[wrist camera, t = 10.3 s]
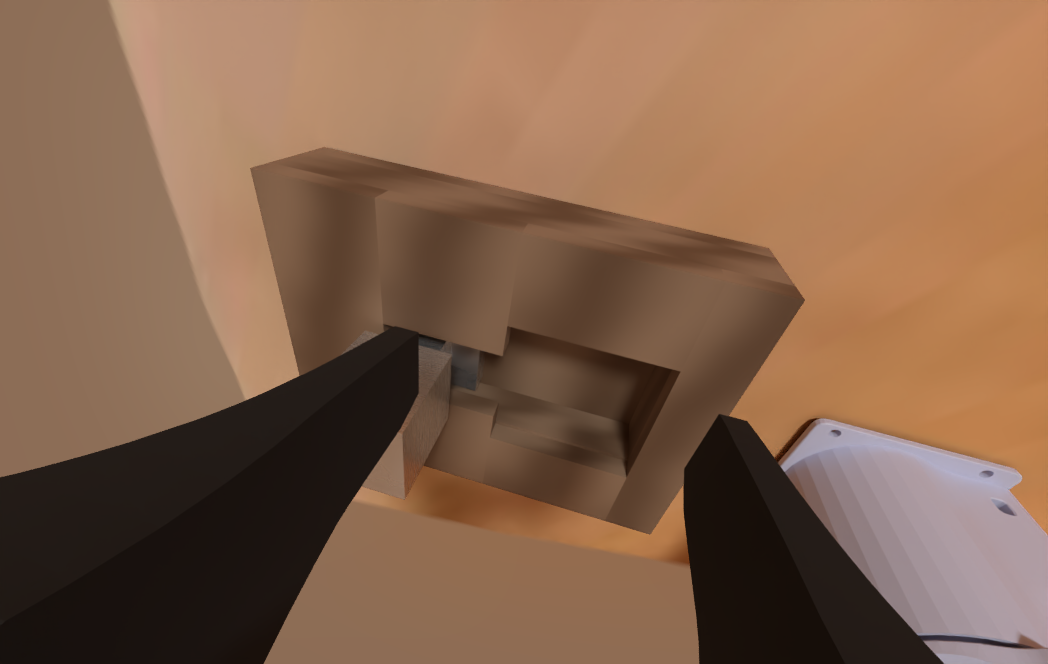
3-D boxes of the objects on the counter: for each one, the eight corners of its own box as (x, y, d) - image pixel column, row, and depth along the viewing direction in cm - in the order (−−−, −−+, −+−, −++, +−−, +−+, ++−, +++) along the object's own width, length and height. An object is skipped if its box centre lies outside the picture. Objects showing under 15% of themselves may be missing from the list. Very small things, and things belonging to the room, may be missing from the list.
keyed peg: (491, 302, 20) (416, 428, 13) (482, 376, 23) (416, 510, 16) (397, 278, 20) (278, 387, 14) (400, 354, 23) (303, 474, 17)
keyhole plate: (769, 248, 17) (804, 300, 13) (648, 467, 25) (650, 534, 22) (324, 147, 19) (250, 168, 15) (355, 383, 27) (312, 431, 24)
